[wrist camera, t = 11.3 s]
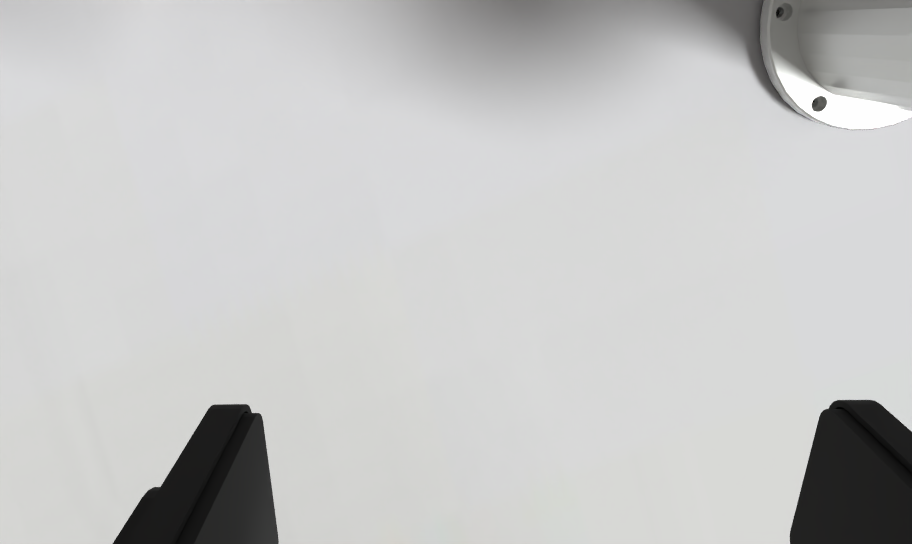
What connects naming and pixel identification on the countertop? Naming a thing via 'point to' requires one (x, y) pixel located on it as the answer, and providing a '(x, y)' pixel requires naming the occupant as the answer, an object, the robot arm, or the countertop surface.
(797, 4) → the robot arm
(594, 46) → the countertop surface
